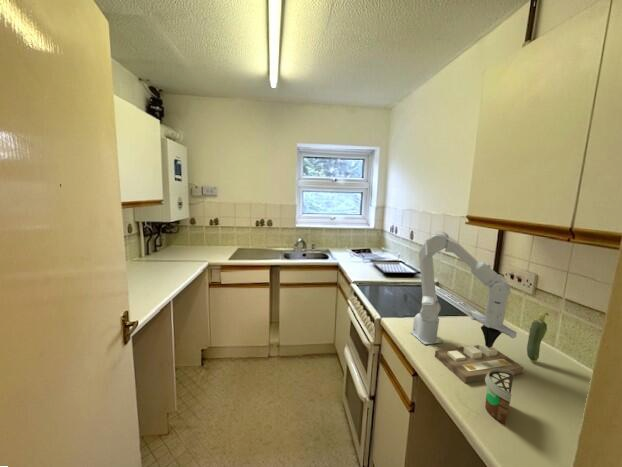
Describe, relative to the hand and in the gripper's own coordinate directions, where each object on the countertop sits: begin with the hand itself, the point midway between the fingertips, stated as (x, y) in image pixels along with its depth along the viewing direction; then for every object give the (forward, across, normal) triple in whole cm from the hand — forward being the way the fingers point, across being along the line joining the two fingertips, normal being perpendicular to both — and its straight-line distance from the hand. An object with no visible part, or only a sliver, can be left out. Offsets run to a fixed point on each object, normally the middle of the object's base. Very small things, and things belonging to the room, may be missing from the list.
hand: (488, 346), depth 99 cm
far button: (+3, 0, 0) cm, 3 cm away
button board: (+5, +1, -7) cm, 9 cm away
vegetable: (+5, +8, +15) cm, 17 cm away
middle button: (+3, -2, -7) cm, 8 cm away
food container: (+5, +15, -23) cm, 28 cm away
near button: (+4, -3, -14) cm, 15 cm away
